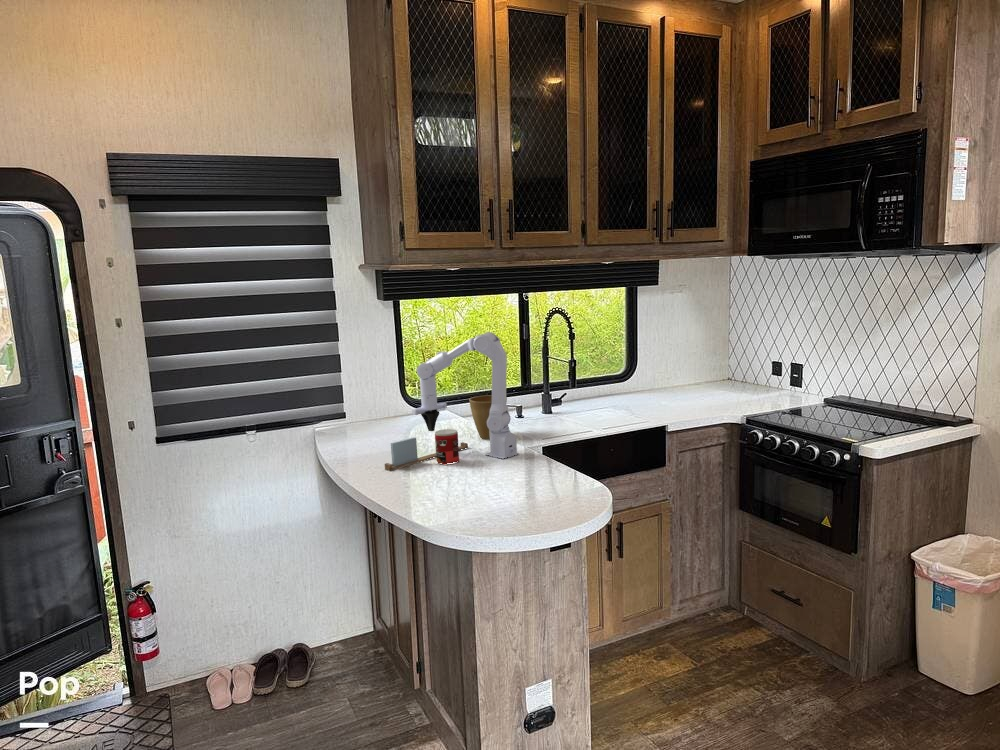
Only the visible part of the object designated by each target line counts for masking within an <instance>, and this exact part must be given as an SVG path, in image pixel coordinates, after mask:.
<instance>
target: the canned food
mask: <svg viewBox="0 0 1000 750" xmlns="http://www.w3.org/2000/svg"><path fill="white" fill-rule="evenodd" d="M434 440H435V441H434V442H435V443H434V444H435V453H436V458H435V459H436V463H437V462H438V463H442V464H447V463H453V462H457V461H458V462H460V451H459V446H460V445H459V435H458V430H457V429H453V428H449V429H448V428H445V429H440V430H436V431H434ZM458 462H457V463H458ZM438 463H437V464H438Z"/></svg>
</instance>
